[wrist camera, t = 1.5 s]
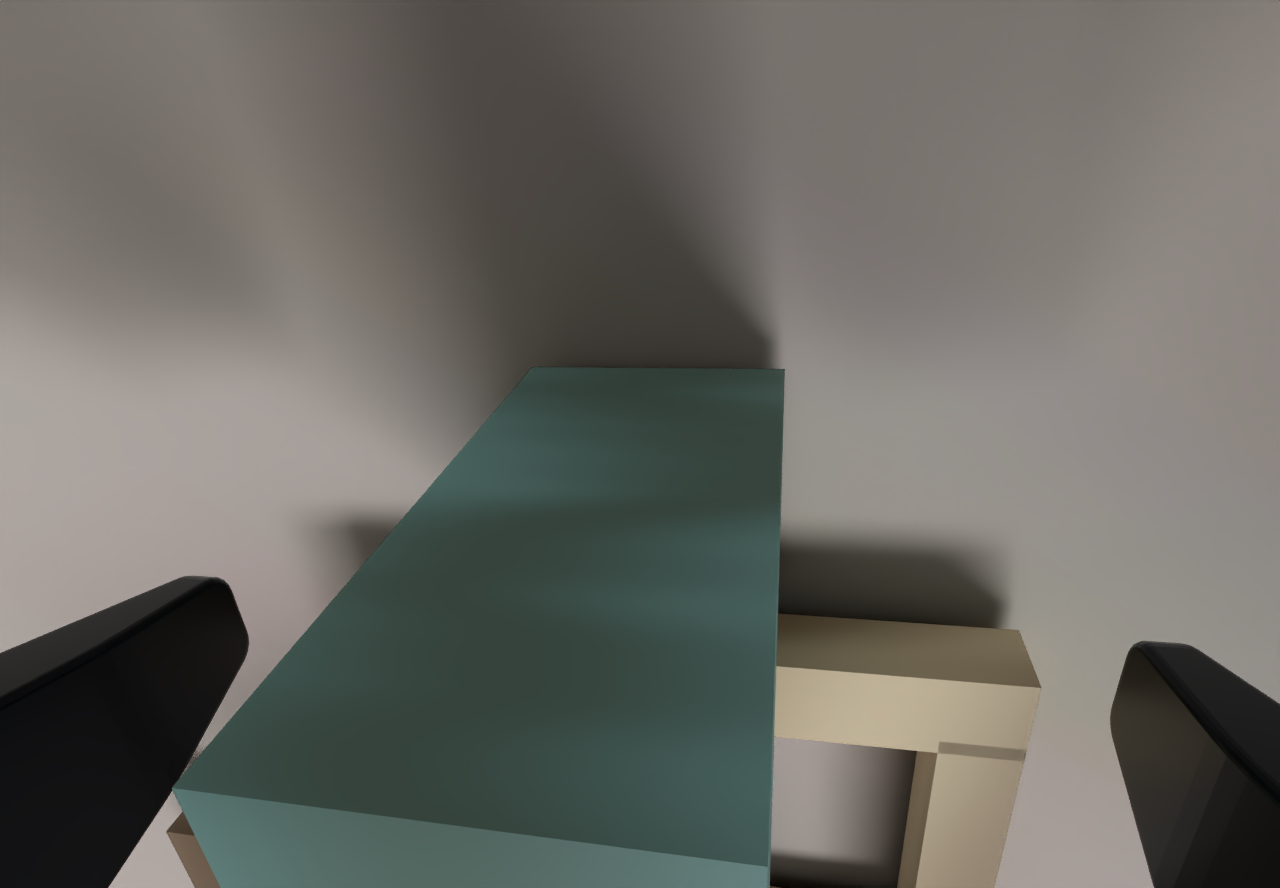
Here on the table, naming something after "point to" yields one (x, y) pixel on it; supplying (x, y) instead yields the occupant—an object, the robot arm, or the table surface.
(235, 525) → the table surface
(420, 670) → the wooden frame with block
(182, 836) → the broken walnut strip
